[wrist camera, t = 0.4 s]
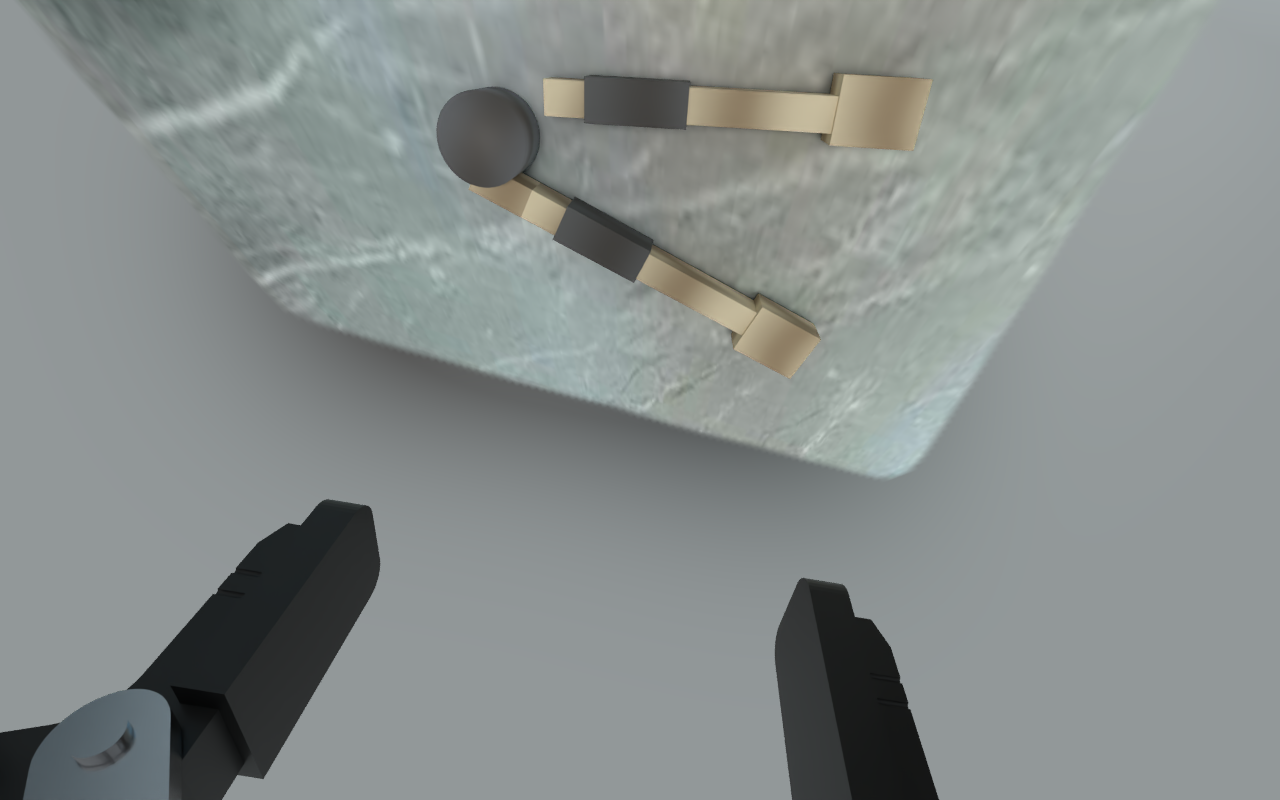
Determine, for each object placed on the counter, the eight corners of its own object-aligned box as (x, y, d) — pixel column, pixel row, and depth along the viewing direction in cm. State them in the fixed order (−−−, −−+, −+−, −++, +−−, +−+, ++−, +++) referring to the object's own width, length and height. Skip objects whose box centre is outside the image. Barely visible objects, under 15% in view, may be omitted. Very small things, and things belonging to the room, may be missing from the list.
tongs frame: (440, 176, 32) (417, 187, 30) (474, 69, 29) (452, 71, 27) (784, 359, 37) (791, 384, 34) (843, 282, 34) (856, 302, 31)
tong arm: (553, 122, 30) (543, 127, 28) (551, 56, 29) (541, 56, 27) (898, 144, 30) (913, 150, 28) (915, 77, 28) (932, 79, 26)
